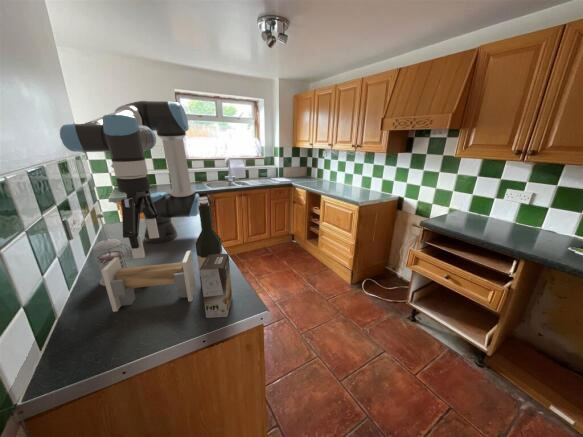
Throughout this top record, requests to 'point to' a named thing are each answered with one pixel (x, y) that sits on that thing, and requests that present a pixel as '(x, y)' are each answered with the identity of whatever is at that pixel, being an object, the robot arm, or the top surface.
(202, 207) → the wine bottle
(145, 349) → the top surface
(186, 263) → the brackets
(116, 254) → the french press
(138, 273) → the rail
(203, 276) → the coffee box
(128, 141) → the robot arm
